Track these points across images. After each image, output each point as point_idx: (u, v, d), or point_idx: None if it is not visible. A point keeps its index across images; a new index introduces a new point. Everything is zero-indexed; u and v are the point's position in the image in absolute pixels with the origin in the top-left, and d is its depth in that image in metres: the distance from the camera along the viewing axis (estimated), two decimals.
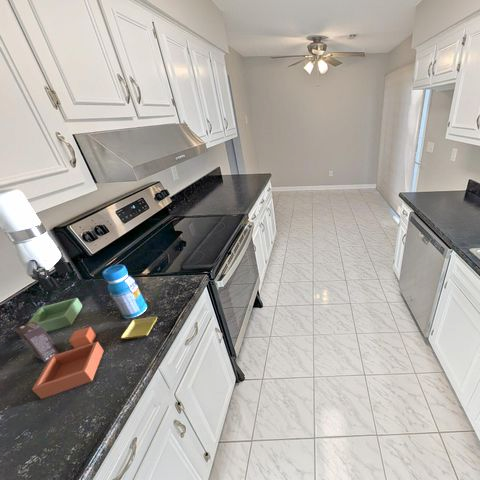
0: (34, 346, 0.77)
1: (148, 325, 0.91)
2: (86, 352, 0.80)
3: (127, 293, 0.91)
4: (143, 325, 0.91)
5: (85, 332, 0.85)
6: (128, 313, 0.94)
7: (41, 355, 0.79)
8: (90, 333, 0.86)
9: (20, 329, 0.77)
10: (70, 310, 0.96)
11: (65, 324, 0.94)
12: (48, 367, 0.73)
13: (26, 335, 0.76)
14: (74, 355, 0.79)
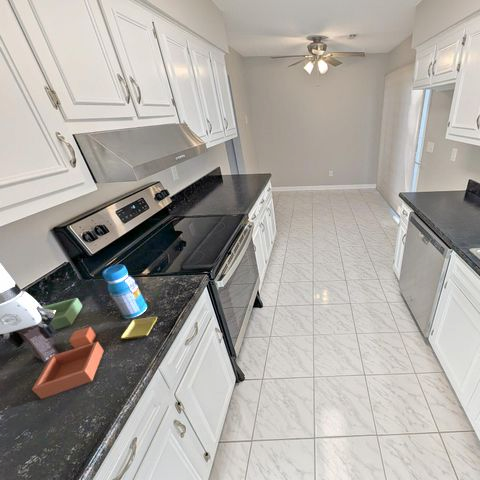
0: (34, 346, 0.77)
1: (148, 325, 0.91)
2: (86, 352, 0.80)
3: (127, 293, 0.91)
4: (143, 325, 0.91)
5: (85, 332, 0.85)
6: (128, 313, 0.94)
7: (41, 355, 0.79)
8: (90, 333, 0.86)
9: (20, 329, 0.77)
10: (70, 310, 0.96)
11: (65, 324, 0.94)
12: (48, 367, 0.73)
13: (26, 335, 0.76)
14: (74, 355, 0.79)
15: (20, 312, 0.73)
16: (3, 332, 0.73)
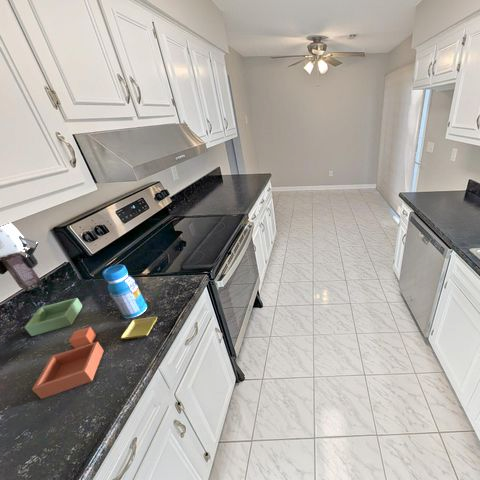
0: (17, 273, 0.83)
1: (148, 325, 0.91)
2: (86, 352, 0.80)
3: (127, 293, 0.91)
4: (143, 325, 0.91)
5: (85, 332, 0.85)
6: (128, 313, 0.94)
7: (23, 283, 0.85)
8: (90, 333, 0.86)
9: (4, 257, 0.83)
10: (70, 310, 0.96)
11: (65, 324, 0.94)
12: (48, 367, 0.73)
13: (9, 261, 0.81)
14: (74, 355, 0.79)
15: (3, 237, 0.79)
16: None
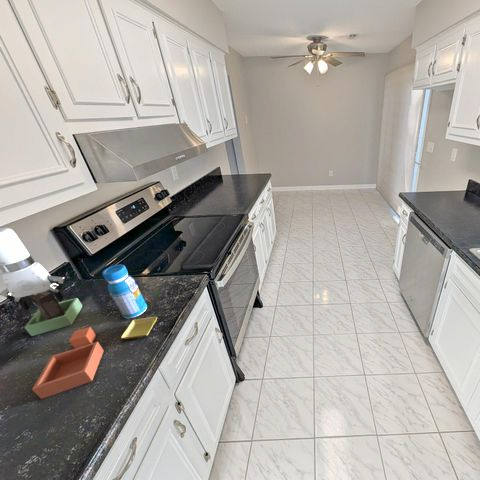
0: (46, 310, 0.91)
1: (148, 325, 0.91)
2: (86, 352, 0.80)
3: (127, 293, 0.91)
4: (143, 325, 0.91)
5: (85, 332, 0.85)
6: (128, 313, 0.94)
7: (51, 318, 0.93)
8: (90, 333, 0.86)
9: (34, 296, 0.91)
10: (70, 310, 0.96)
11: (65, 324, 0.94)
12: (48, 367, 0.73)
13: (39, 300, 0.89)
14: (74, 355, 0.79)
15: (34, 279, 0.87)
16: (19, 296, 0.87)
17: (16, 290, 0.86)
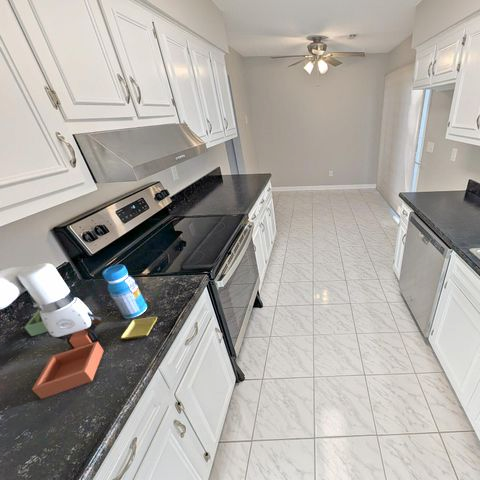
0: None
1: (148, 325, 0.91)
2: (86, 352, 0.80)
3: (127, 293, 0.91)
4: (143, 325, 0.91)
5: (85, 332, 0.85)
6: (128, 313, 0.94)
7: None
8: None
9: None
10: None
11: None
12: (48, 367, 0.73)
13: None
14: (74, 355, 0.79)
15: (74, 317, 0.79)
16: (58, 335, 0.79)
17: (55, 329, 0.78)
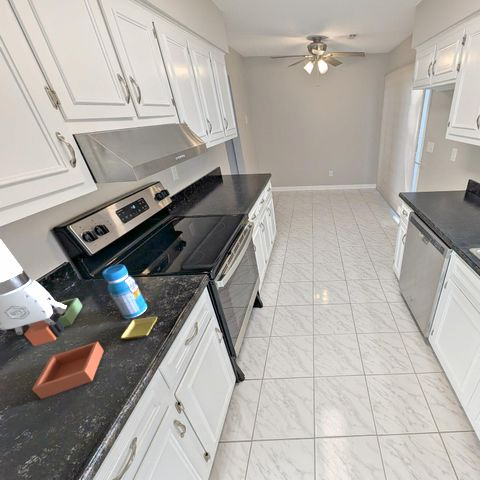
0: None
1: (148, 325, 0.91)
2: (86, 352, 0.80)
3: (127, 293, 0.91)
4: (143, 325, 0.91)
5: (46, 324, 0.68)
6: (128, 313, 0.94)
7: None
8: None
9: None
10: (70, 310, 0.96)
11: (65, 324, 0.94)
12: (48, 367, 0.73)
13: None
14: (74, 355, 0.79)
15: (29, 303, 0.62)
16: (9, 327, 0.62)
17: (4, 320, 0.61)
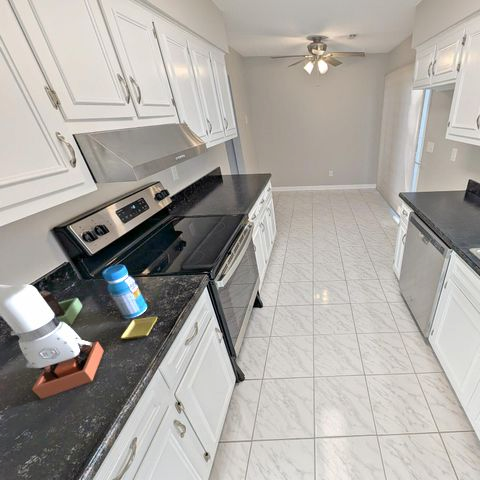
0: None
1: (148, 325, 0.91)
2: None
3: (127, 293, 0.91)
4: (143, 325, 0.91)
5: (73, 361, 0.74)
6: (128, 313, 0.94)
7: None
8: None
9: None
10: (70, 310, 0.96)
11: None
12: None
13: None
14: None
15: (59, 345, 0.69)
16: (41, 366, 0.69)
17: (37, 360, 0.68)
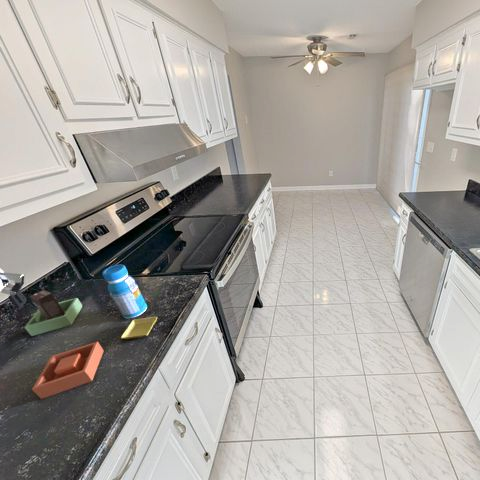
0: (46, 310, 0.91)
1: (148, 325, 0.91)
2: (86, 352, 0.80)
3: (127, 293, 0.91)
4: (143, 325, 0.91)
5: (73, 361, 0.74)
6: (128, 313, 0.94)
7: (51, 318, 0.93)
8: (79, 361, 0.76)
9: (34, 296, 0.91)
10: (70, 310, 0.96)
11: (65, 324, 0.94)
12: (48, 367, 0.73)
13: (39, 300, 0.89)
14: None
15: None
16: None
17: None
